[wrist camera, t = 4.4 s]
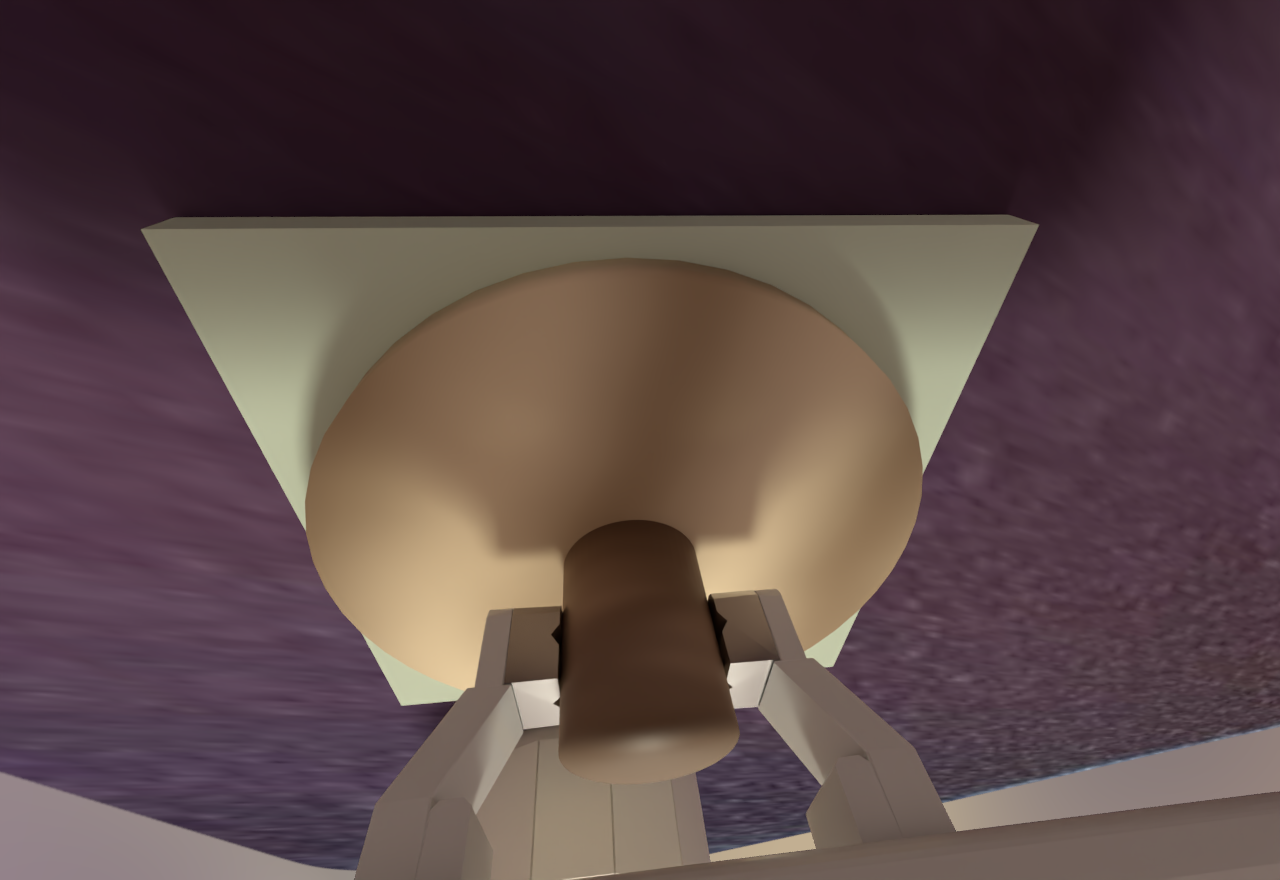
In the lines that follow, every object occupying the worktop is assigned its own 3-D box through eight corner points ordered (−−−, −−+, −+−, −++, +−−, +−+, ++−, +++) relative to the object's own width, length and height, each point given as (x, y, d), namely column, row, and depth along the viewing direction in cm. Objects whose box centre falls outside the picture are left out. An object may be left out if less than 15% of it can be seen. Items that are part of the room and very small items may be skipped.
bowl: (697, 703, 20) (727, 859, 16) (681, 796, 26) (699, 927, 22) (444, 727, 19) (409, 898, 15) (487, 818, 25) (469, 958, 21)
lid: (1001, 252, 9) (1328, 387, 5) (825, 659, 17) (897, 833, 13) (193, 264, 8) (-197, 455, 4) (415, 696, 16) (361, 900, 12)
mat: (1008, 214, 10) (1038, 224, 9) (824, 645, 18) (833, 666, 18) (174, 217, 8) (139, 228, 8) (408, 681, 17) (401, 705, 16)
